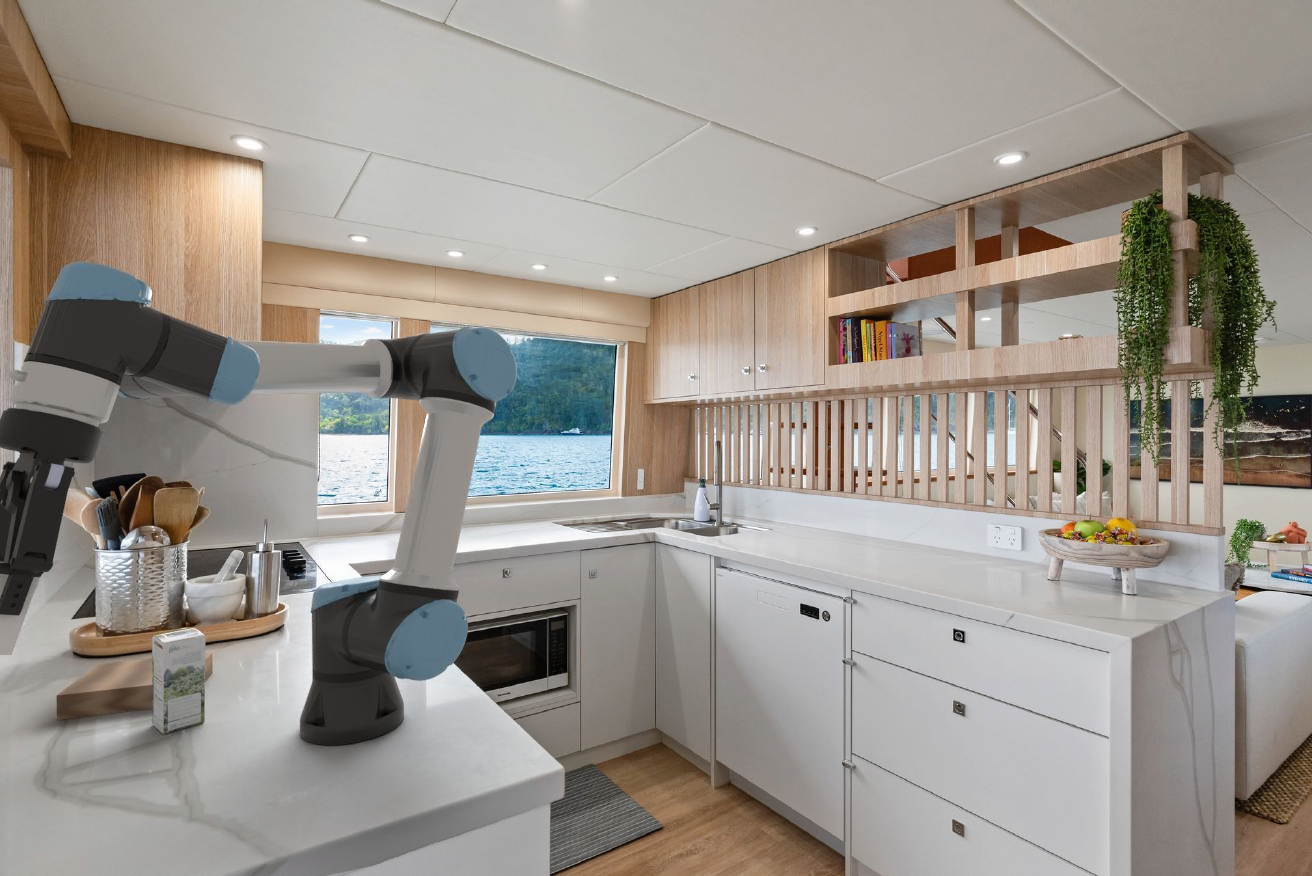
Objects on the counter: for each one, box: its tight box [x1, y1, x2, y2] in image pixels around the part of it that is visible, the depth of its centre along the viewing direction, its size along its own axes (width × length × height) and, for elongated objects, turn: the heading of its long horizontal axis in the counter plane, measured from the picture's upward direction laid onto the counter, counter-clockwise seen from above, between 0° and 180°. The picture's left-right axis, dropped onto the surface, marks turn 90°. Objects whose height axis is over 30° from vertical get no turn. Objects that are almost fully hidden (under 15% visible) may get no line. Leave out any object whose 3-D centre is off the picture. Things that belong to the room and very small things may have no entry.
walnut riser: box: [56, 652, 214, 721], centre depth 119 cm, size 18×16×4 cm
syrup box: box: [151, 627, 206, 735], centre depth 107 cm, size 6×6×14 cm
